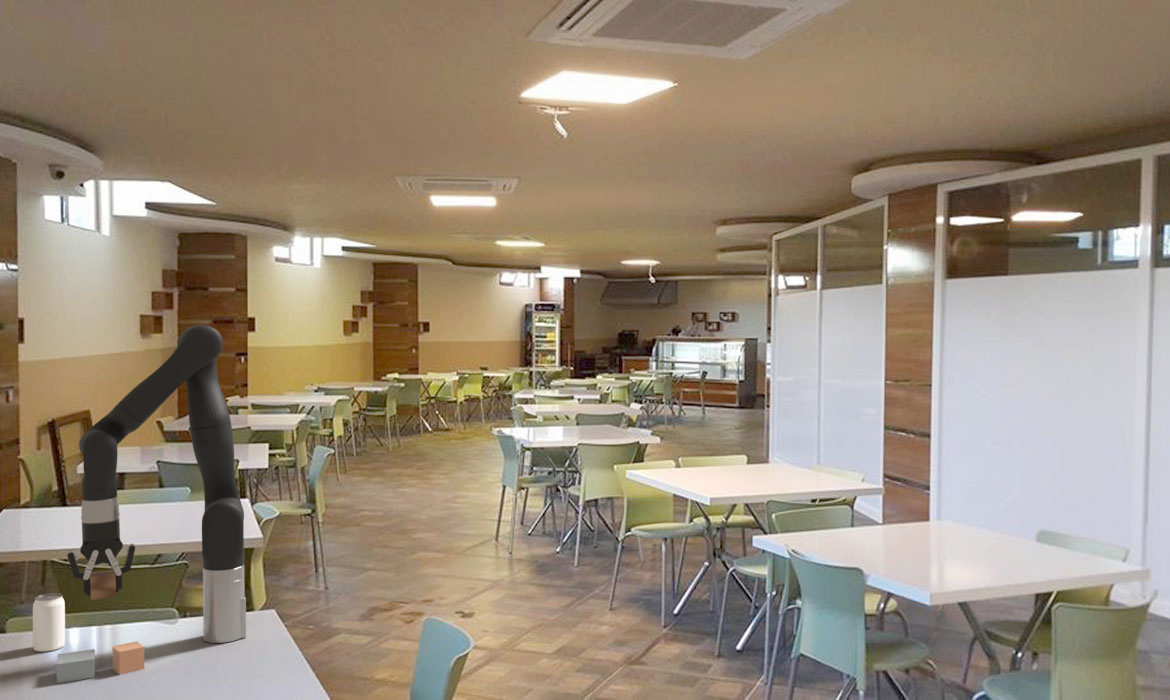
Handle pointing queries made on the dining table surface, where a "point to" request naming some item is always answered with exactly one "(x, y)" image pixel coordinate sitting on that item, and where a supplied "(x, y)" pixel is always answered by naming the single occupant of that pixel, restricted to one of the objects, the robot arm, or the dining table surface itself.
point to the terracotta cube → (128, 657)
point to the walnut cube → (103, 584)
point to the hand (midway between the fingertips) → (103, 593)
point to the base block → (75, 666)
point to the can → (48, 622)
